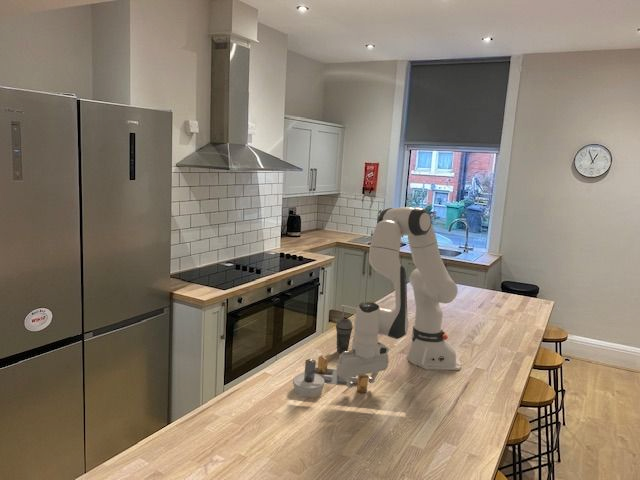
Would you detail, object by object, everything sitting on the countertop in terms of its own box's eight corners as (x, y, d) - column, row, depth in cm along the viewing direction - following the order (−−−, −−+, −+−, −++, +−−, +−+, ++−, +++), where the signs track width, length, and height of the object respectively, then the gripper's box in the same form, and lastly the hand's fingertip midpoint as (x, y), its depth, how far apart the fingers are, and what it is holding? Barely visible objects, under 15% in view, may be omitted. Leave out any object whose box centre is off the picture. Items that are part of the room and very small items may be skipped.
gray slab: (363, 375, 183) (364, 367, 183) (364, 390, 172) (364, 382, 171) (307, 369, 185) (308, 361, 184) (304, 384, 173) (304, 375, 172)
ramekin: (300, 404, 159) (301, 390, 158) (287, 389, 169) (287, 375, 168) (329, 398, 164) (330, 384, 163) (314, 383, 174) (315, 370, 173)
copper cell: (366, 392, 170) (368, 372, 169) (366, 397, 167) (368, 377, 165) (356, 391, 171) (358, 371, 169) (356, 396, 167) (358, 376, 166)
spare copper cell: (326, 373, 180) (328, 354, 178) (326, 377, 176) (327, 359, 175) (317, 372, 180) (319, 354, 179) (316, 376, 177) (318, 358, 175)
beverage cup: (349, 356, 199) (353, 311, 196) (332, 354, 201) (336, 309, 197) (351, 350, 206) (355, 306, 203) (335, 347, 208) (338, 304, 204)
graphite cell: (315, 382, 164) (316, 362, 163) (305, 382, 163) (306, 362, 162) (312, 377, 168) (314, 357, 166) (303, 377, 167) (304, 357, 165)
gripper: (344, 356, 158) (340, 394, 160) (392, 347, 168) (388, 383, 171) (334, 348, 163) (331, 385, 166) (381, 341, 173) (377, 376, 176)
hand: (360, 384), depth 168 cm, fingers open, 8 cm apart
